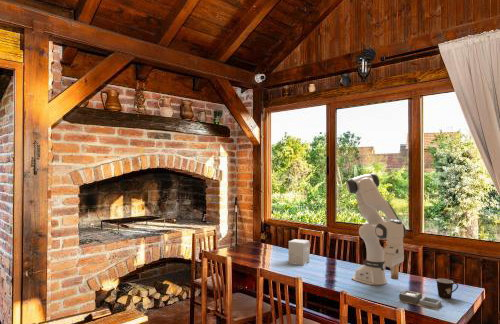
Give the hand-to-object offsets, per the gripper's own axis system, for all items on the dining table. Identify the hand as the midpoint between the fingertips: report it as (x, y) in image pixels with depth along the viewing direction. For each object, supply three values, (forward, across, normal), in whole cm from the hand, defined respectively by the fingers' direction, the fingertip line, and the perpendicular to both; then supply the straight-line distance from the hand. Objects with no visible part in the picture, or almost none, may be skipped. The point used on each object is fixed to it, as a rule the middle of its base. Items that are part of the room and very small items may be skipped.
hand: (394, 272), depth 205 cm
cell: (+4, 0, 0) cm, 4 cm away
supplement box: (+19, -31, -88) cm, 95 cm away
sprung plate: (+12, -2, +8) cm, 15 cm away
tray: (+14, -2, +19) cm, 24 cm away
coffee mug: (+15, -22, +22) cm, 35 cm away
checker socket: (+14, -2, +8) cm, 17 cm away
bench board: (+15, -2, +13) cm, 20 cm away
